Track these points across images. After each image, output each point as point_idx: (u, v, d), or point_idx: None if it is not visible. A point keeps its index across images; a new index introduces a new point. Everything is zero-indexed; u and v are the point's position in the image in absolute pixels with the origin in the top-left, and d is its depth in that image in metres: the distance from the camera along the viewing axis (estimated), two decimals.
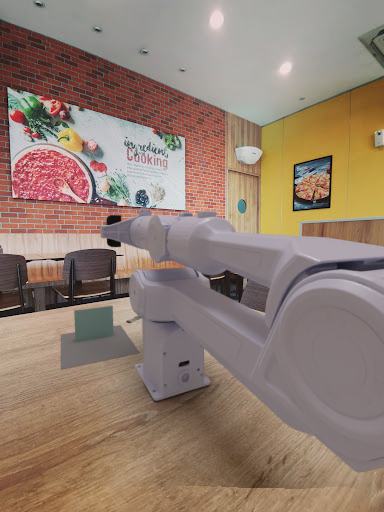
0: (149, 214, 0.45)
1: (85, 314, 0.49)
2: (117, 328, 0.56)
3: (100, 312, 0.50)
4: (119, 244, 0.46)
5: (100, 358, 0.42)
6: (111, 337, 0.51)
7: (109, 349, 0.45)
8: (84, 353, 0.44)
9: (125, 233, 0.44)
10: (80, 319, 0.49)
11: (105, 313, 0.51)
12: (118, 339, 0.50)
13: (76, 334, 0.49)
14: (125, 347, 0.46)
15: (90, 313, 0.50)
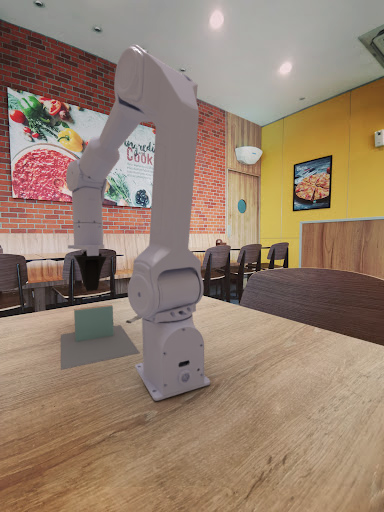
0: None
1: (85, 314, 0.49)
2: (117, 328, 0.56)
3: (100, 312, 0.50)
4: (103, 256, 0.53)
5: (100, 358, 0.42)
6: (111, 337, 0.51)
7: (109, 349, 0.45)
8: (84, 353, 0.44)
9: None
10: (80, 319, 0.49)
11: (105, 313, 0.51)
12: (118, 339, 0.50)
13: (76, 334, 0.49)
14: (125, 347, 0.46)
15: (90, 313, 0.50)
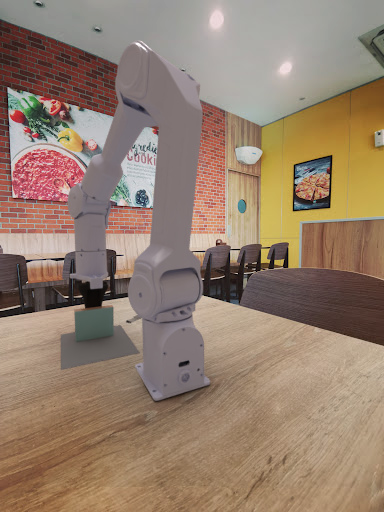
0: None
1: (85, 315, 0.49)
2: (117, 328, 0.56)
3: (101, 313, 0.50)
4: (105, 284, 0.52)
5: (100, 358, 0.42)
6: (111, 337, 0.51)
7: (109, 349, 0.45)
8: (84, 353, 0.44)
9: (95, 276, 0.48)
10: (80, 320, 0.48)
11: (106, 314, 0.50)
12: (118, 339, 0.50)
13: (76, 334, 0.49)
14: (125, 347, 0.46)
15: (90, 314, 0.49)
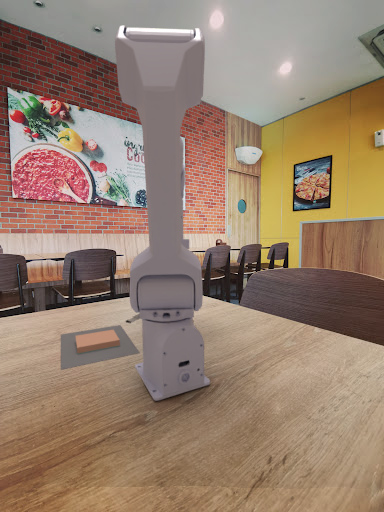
0: None
1: None
2: (117, 328, 0.56)
3: None
4: None
5: (100, 358, 0.42)
6: None
7: (109, 349, 0.45)
8: (84, 353, 0.44)
9: None
10: None
11: None
12: None
13: None
14: (125, 347, 0.46)
15: None
